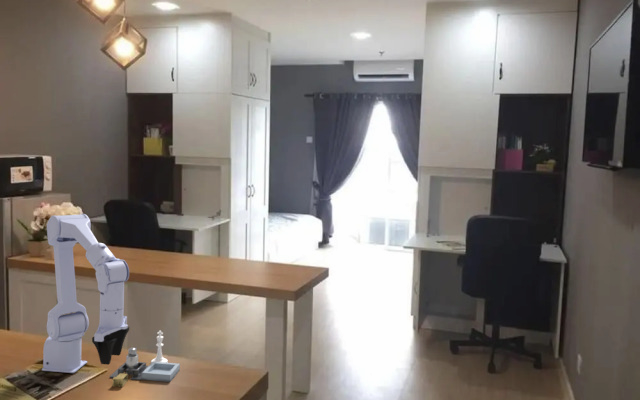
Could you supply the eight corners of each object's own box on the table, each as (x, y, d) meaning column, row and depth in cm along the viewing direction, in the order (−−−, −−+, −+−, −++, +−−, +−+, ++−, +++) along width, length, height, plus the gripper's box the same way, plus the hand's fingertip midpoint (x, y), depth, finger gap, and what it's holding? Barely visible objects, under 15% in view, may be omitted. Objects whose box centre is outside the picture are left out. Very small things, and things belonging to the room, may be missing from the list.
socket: (109, 377, 152) (109, 370, 151) (123, 365, 160) (123, 358, 160) (141, 380, 151) (141, 373, 151) (153, 367, 160) (153, 360, 160)
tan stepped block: (112, 386, 146) (112, 378, 146) (118, 380, 150) (119, 372, 150) (122, 387, 146) (122, 379, 146) (128, 380, 150) (129, 373, 150)
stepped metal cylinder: (124, 374, 154) (124, 350, 154) (128, 369, 157) (129, 346, 157) (135, 375, 154) (135, 351, 153) (139, 370, 157) (140, 347, 157)
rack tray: (142, 379, 152) (142, 372, 151) (152, 368, 159) (152, 361, 159) (170, 381, 151) (170, 374, 151) (179, 370, 159) (179, 363, 159)
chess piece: (162, 367, 161) (163, 334, 160) (147, 365, 161) (148, 332, 161) (170, 361, 165) (171, 329, 164) (155, 359, 166) (156, 327, 165)
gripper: (114, 317, 132) (113, 371, 134) (138, 301, 147) (137, 350, 148) (86, 315, 133) (85, 369, 134) (112, 299, 147) (111, 348, 148)
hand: (110, 359), depth 141 cm, fingers open, 5 cm apart
